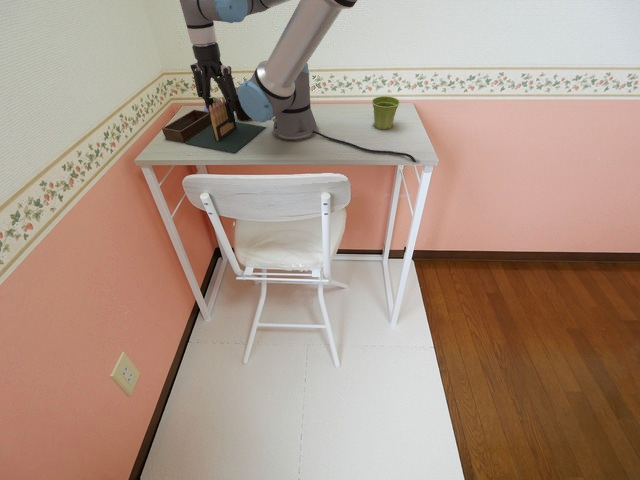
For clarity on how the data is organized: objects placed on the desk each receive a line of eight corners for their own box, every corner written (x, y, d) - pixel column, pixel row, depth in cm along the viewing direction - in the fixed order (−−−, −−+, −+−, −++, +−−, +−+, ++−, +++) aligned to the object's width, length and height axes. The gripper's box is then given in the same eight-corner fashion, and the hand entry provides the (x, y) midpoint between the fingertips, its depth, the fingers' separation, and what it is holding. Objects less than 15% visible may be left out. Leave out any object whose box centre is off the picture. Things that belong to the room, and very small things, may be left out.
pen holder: (214, 122, 124) (211, 112, 122) (184, 143, 113) (180, 131, 110) (197, 119, 127) (193, 109, 124) (165, 139, 116) (161, 128, 113)
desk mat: (265, 127, 120) (265, 126, 119) (234, 153, 106) (234, 152, 106) (220, 120, 126) (220, 119, 125) (185, 144, 112) (185, 142, 112)
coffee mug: (253, 122, 123) (248, 95, 116) (231, 121, 124) (225, 94, 118) (261, 110, 132) (257, 83, 125) (241, 109, 133) (236, 83, 126)
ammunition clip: (219, 141, 112) (210, 106, 104) (215, 140, 112) (205, 105, 104) (237, 128, 119) (229, 94, 111) (233, 127, 120) (225, 93, 111)
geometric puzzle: (219, 115, 124) (218, 93, 123) (201, 116, 124) (200, 94, 123) (225, 120, 131) (224, 99, 130) (208, 120, 131) (207, 100, 130)
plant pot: (399, 122, 119) (403, 98, 113) (392, 133, 113) (395, 108, 107) (374, 118, 122) (376, 94, 116) (366, 129, 116) (368, 104, 110)
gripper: (240, 42, 96) (253, 119, 112) (186, 38, 102) (206, 112, 118) (225, 48, 91) (241, 128, 107) (169, 44, 97) (193, 120, 113)
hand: (223, 120), depth 112 cm, fingers open, 7 cm apart
